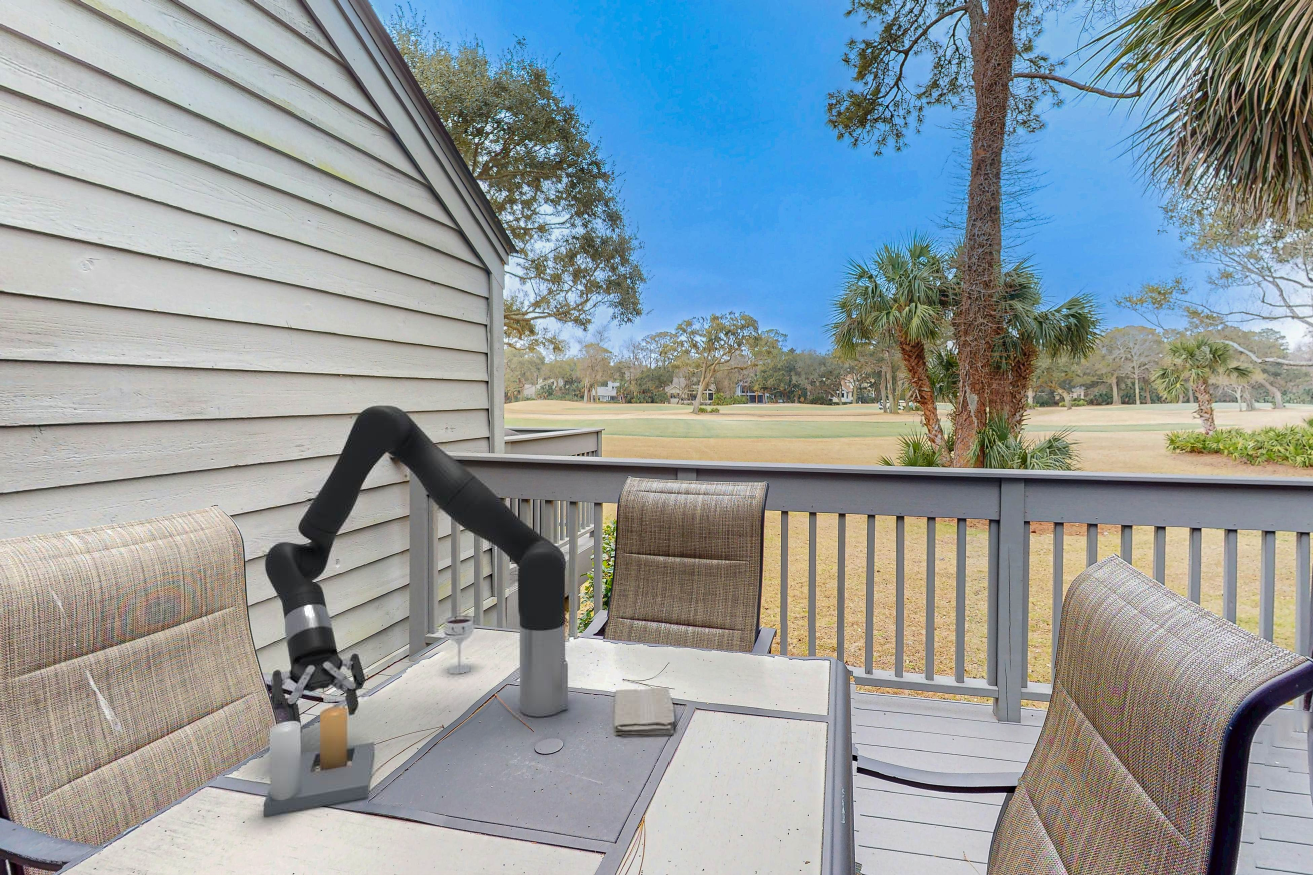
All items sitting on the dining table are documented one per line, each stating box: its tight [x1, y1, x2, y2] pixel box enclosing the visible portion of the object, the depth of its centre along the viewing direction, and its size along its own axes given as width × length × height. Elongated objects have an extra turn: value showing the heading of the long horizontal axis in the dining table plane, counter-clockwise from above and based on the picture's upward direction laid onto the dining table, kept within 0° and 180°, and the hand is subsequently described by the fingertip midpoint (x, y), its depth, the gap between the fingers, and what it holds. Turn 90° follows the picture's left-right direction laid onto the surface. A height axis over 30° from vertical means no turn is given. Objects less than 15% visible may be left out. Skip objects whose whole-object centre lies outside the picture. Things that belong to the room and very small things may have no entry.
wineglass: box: [443, 614, 475, 675], centre depth 148 cm, size 7×7×12 cm
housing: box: [263, 721, 375, 818], centre depth 102 cm, size 14×14×12 cm
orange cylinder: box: [319, 705, 348, 771], centre depth 105 cm, size 4×4×10 cm
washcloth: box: [613, 687, 676, 738], centre depth 126 cm, size 12×18×3 cm, turn 5°
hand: (326, 720), depth 108 cm, fingers open, 8 cm apart
